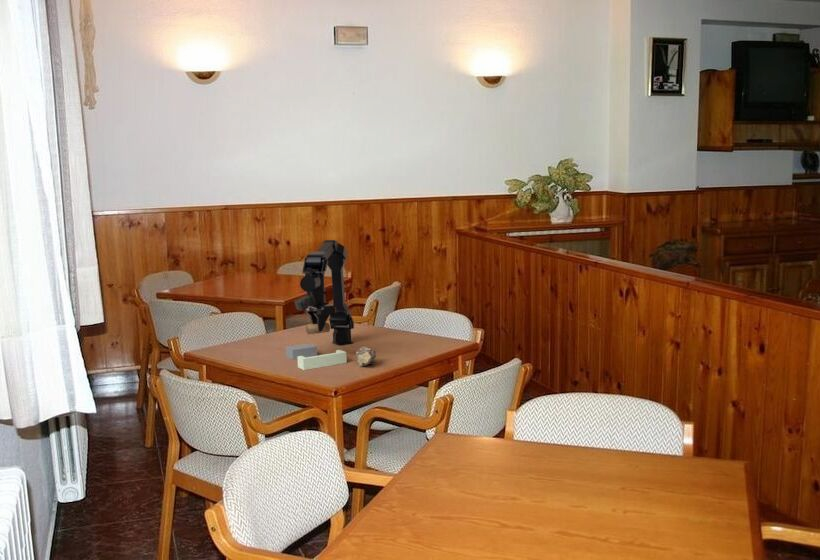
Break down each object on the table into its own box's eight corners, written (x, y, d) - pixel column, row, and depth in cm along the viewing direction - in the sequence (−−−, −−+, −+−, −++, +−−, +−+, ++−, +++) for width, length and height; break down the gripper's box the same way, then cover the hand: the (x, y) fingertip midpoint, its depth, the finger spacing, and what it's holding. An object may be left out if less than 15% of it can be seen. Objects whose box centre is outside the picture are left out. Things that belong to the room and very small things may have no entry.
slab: (310, 353, 323) (309, 343, 322) (317, 356, 317) (317, 346, 316) (285, 356, 318) (285, 346, 317) (293, 360, 312) (292, 350, 312)
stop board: (340, 360, 310) (339, 349, 309) (346, 362, 305) (346, 352, 305) (297, 367, 300) (297, 356, 300) (303, 370, 296) (303, 359, 296)
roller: (325, 330, 310) (325, 321, 309) (329, 333, 307) (330, 323, 306) (306, 333, 306) (306, 323, 305) (310, 335, 303) (310, 326, 302)
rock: (367, 353, 294) (383, 343, 302) (342, 350, 300) (358, 340, 308) (369, 372, 296) (386, 362, 304) (344, 368, 302) (361, 358, 310)
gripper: (285, 287, 308) (287, 329, 310) (308, 292, 292) (309, 336, 294) (313, 285, 314) (314, 326, 316) (336, 290, 298) (337, 333, 300)
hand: (318, 330), depth 306 cm, fingers closed on roller, 3 cm apart
